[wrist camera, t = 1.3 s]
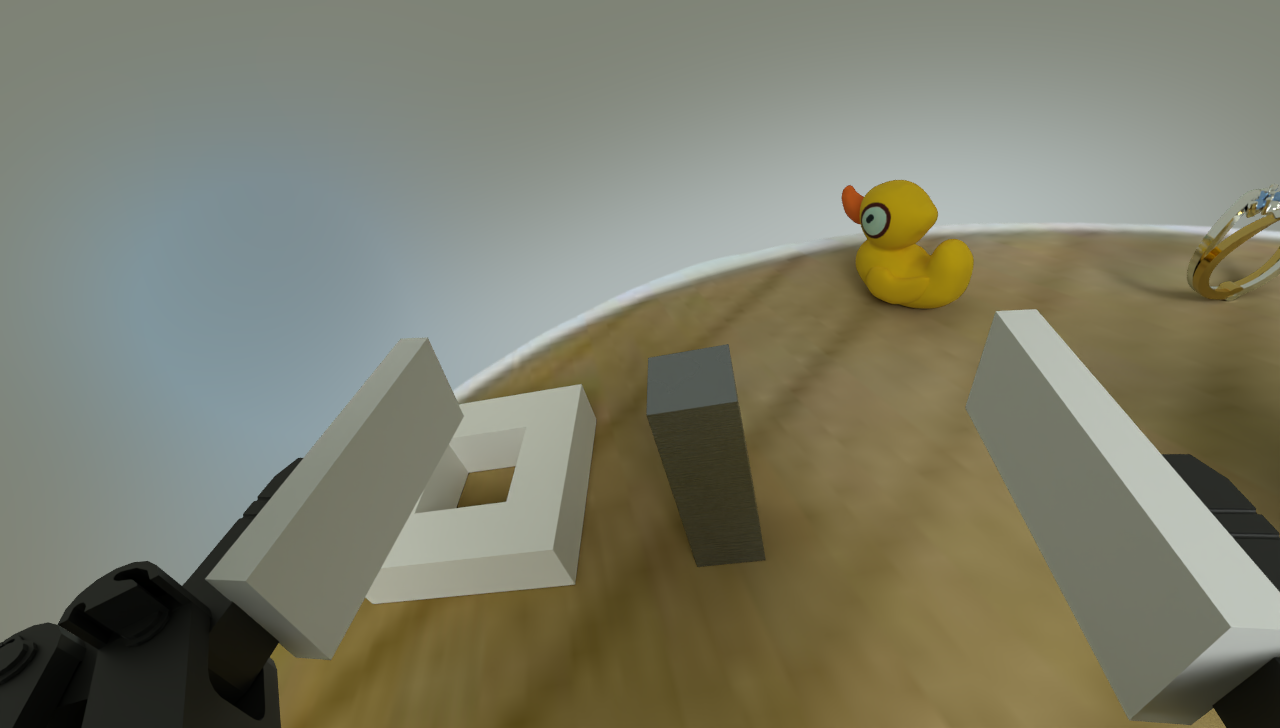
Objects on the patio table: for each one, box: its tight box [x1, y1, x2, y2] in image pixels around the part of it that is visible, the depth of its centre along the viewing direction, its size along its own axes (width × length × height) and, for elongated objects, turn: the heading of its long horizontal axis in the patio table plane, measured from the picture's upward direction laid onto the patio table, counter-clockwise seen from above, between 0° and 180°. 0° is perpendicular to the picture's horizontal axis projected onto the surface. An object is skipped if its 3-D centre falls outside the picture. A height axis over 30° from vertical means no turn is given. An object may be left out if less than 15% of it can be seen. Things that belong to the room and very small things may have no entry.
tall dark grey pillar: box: [647, 344, 766, 567], centre depth 29 cm, size 4×4×13 cm
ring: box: [1187, 184, 1280, 301], centre depth 35 cm, size 7×3×8 cm, turn 94°
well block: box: [366, 384, 596, 604], centre depth 38 cm, size 14×14×4 cm
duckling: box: [842, 180, 974, 308], centre depth 43 cm, size 11×5×10 cm, turn 32°
